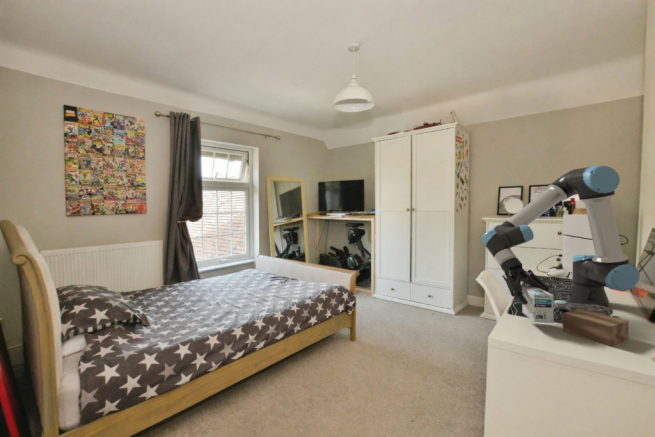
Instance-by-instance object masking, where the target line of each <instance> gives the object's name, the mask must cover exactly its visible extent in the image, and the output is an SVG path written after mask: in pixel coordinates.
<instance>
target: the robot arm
mask: <svg viewBox="0 0 655 437" xmlns="http://www.w3.org/2000/svg"><path fill="white" fill-rule="evenodd" d="M620 179H621V177H620V176H619V173H618V172H617V171H616V170H615V169H614V168H612V167H610V166H608V165H604V164H603V165H592V166H587V167H581V168H575V169H572V170H569V171H567V172H566V173H564V174H562V175H561V176H560V177H558V178H557V179H555V180H554V181H553V182H551V183H550V184H549V185H548V186H547V189H546V190H545V191H543V192H542V193H541V194H540V195H538V196H537V197H535V198H534V199H532V201H531V202H529V203H528V204H527V205H525V206H523V208H521V209H520V210H519V211H517V212H515V214H513V215H512V216H511V217H509V218H507V220H505V221H504V222H503V223H501V224H498V225H494V226H493V227H492V228H491V230H488V231H486V232H485V233H484V234H483V235H482V236H481V241H482V243H483V245H484V246H485V248H486V249H487V250H488V251H489V253H490V254H491V255H492V257H493V258H494V260H495V261H496V262H497V264H498V266H500V268H501V270H502V271H503V273H504V274H503V275H502V278H503V279H504V281H505V283H506V285H507V288H508V291H509V293H510V295H511V297H514V298H515V299H517V300H518V299H519V301H520V302H521V304H523V305H525V307H526V308H527V310H528V311H529V312H530V314H531V313H533V312H535V311H536V308H535V307H534V306H533V304H532V303H531V301H530V300H529V299H528V297H527V296H526V295H523V292H522V287H523V286H522V283H524V284H527V285H529V287H533V288H541V289H542V290H544V291H546V292H549V290H550V287H549V286H548V285H546V283H544V281H543V280H541V279H540V278H539V277H538V276H537V274H534V271H533V270H531V269H529V270H528V269H527V270H525V269H524V268H523V263H522V262H521V260H520V259H519V258H518V257H517V255H516V254H515V253H514V252H513V251H512V248H514V247H517V246H520V245H523V244H525V243H526V244H527V243H528V242H531V241H532V240H533V239H534V237H535V236H534V231H533V230H532V228H531V227H530V226H529V225H530V224H532V223H533V222H534V221H535V220H537V219H538V218H539V217H541V216H542V215H543V214H545V213H546V212H548V211H549V210H550V209H551V208H553V207H554V206H555V205H557V204H558V203H560V202H561V201H567V199H569V198H571V197H572V196H577V195H578V199H579V201H581V202H582V203H583V204H584V207H585V210H586V211H585V212H586V216H587V220H588V225H589V226H588V227H589V230H590V234H591V239H592V245H593V247H594V248H593V249H594V254H575V255H573V257H572V277H571V278H572V279H571V280H572V282H571V283H572V284H571V287H570V288H569V291H568V294H567V301H569V302H570V303H579V304H584V305H585V304H594V305H601V306H604V307H607V308H608V307H609V306H610V299H609V297H608V295H607V292H606V290H605V288H608V289H609V290H615V291H620V292H626V291H630V290H631V289H633V288H635V287H636V285H637V284H639V281H640V279H641V275H640V271H639V269H638V268H637V267H635V266H634V265H631V264H630V259H629V256H627V255H626V254H624V253H623V251H622V245H621V241H620V240H621V239H620V236H619V231H618V226H617V222H616V217H615V213H614V207H613V203H612V202H613V201H612V198H613V197H614V196H615V194H616V193H615V192H616V190H617V189H618V186H619V185H620V182H621V181H620ZM554 301H555V300H554V299H553V311H554V310H555V309H557V308H558V306H557V304H556V303H555V302H554Z"/></svg>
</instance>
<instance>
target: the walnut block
mask: <svg viewBox="0 0 655 437" xmlns="http://www.w3.org/2000/svg"><path fill="white" fill-rule="evenodd" d="M562 332H565V333H568V334H570V335H573V336H576V337H580V338H583V339H586V340H589V341H591V342H595V343H597V344H602V345H604V346H607V347H613V346H615V345H618V344H620V343H623V342H626V341H627V340H629V320H627V319H623V318H620V317H615V316H612V315H610V316H608V315H605V314H601V313H597V312H593V311H589V310H585V309H581V308H580V309H577V310H572V311H569V310H568V311H566V312H563V313H562Z"/></svg>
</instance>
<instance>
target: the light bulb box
mask: <svg viewBox="0 0 655 437" xmlns="http://www.w3.org/2000/svg"><path fill="white" fill-rule="evenodd" d="M521 287H522V292H523V295H526V296H527V297H528V299H529V300H530V301H531V303H532V304H533V306H534V307H535V308H536V311H535V312H533V313H531V314H530V312H529V311H528V310H527V308H526V307H525V305H523V304H522V303H521V304H522V306H521V307H522V309H521V310H522V311H521V312H522V314H524V315H525V316H526V317H528V319H530V320H531V321H532V322H534V323H544V324H545V323H546V324H547V323H548V324H554V320H555V319H554V310H553V300H554V294H553V293H550V292H549V291H547V292H546V291H544V290H542V289H541V288H533V287H531V286H529V287H527V286H521Z"/></svg>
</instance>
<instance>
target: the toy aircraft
mask: <svg viewBox="0 0 655 437" xmlns="http://www.w3.org/2000/svg"><path fill="white" fill-rule="evenodd" d="M554 302H555V303H556V304H557V306H558V307H557V308H558V309H561V310H568V312H569V311H573V310H577V309H580V308H581V309H585V310H589V311H593V312H597V313H601V314H605V315H608V316H612V315H613V313H614V310H613V309H612V308H609V307H608V306H607V307H604V306H601V305H594V304H585V305H584V304H579V303H573V302H571V301H569V302H568V301H567V300H561V299H560V300H558V299H557V300H554Z"/></svg>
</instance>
